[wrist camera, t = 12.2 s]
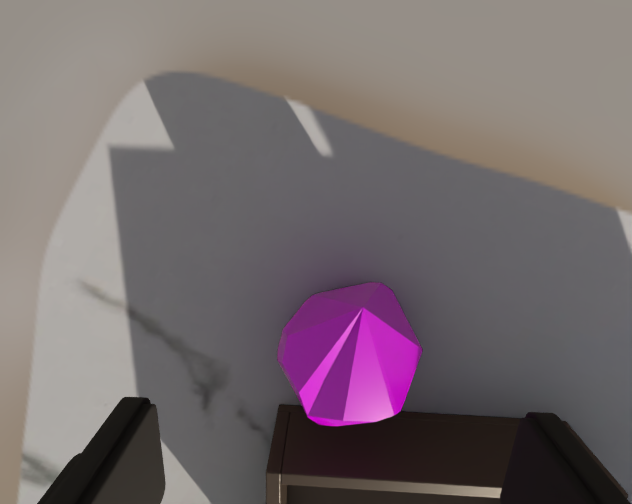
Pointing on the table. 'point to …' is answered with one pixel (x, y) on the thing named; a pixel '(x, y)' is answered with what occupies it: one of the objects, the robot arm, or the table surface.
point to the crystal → (350, 355)
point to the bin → (392, 459)
